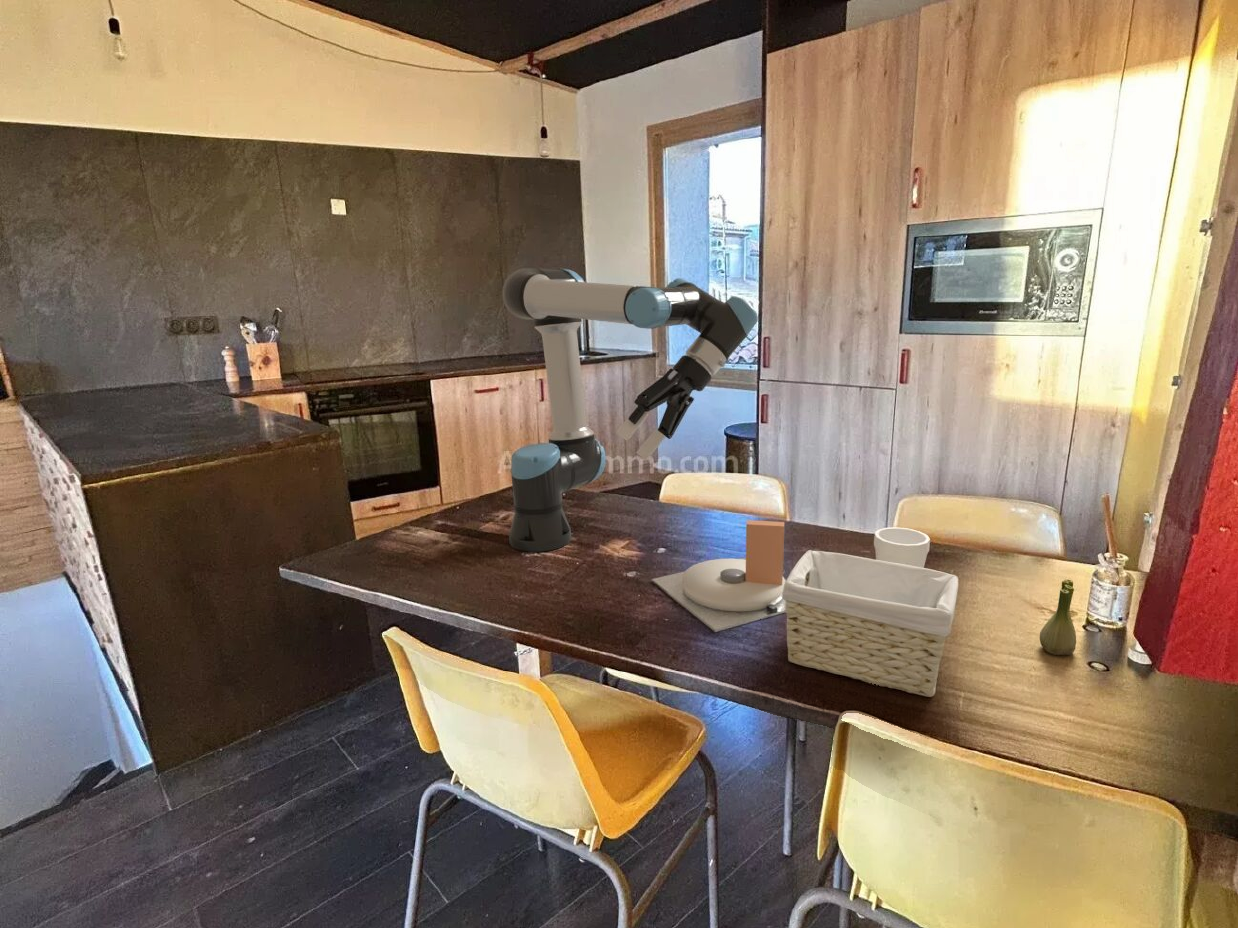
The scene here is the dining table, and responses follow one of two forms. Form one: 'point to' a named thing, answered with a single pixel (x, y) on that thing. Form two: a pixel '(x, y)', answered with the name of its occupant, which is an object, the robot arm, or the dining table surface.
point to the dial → (742, 573)
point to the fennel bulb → (1060, 625)
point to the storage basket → (869, 619)
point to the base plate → (714, 616)
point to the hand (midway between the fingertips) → (631, 447)
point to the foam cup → (901, 546)
